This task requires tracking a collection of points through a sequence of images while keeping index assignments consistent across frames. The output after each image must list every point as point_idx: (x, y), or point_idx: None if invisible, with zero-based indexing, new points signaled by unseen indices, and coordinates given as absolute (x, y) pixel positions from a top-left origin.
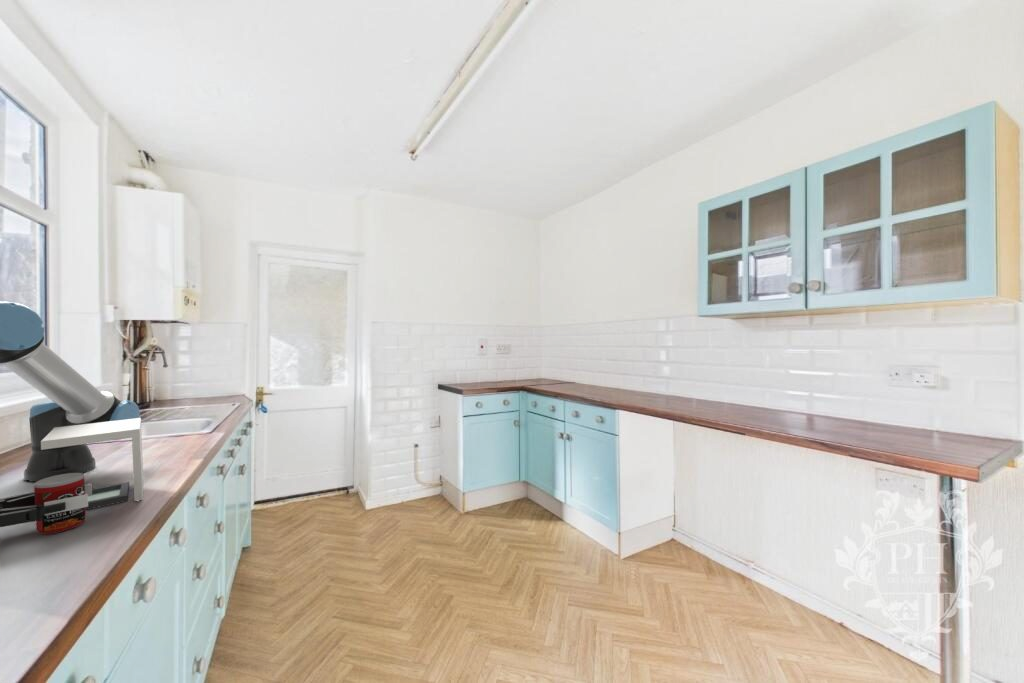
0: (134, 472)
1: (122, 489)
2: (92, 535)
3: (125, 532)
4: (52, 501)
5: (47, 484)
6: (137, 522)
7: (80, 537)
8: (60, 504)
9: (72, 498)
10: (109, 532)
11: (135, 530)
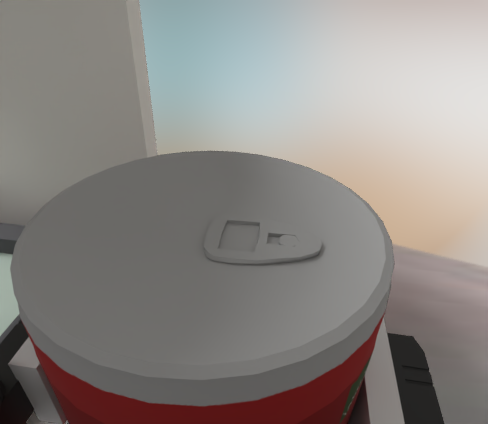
0: (146, 133)
1: (8, 235)
2: (453, 369)
3: (482, 295)
4: (385, 377)
5: (375, 286)
6: (396, 265)
7: (452, 405)
8: (422, 355)
9: None
10: (451, 326)
11: (477, 277)
